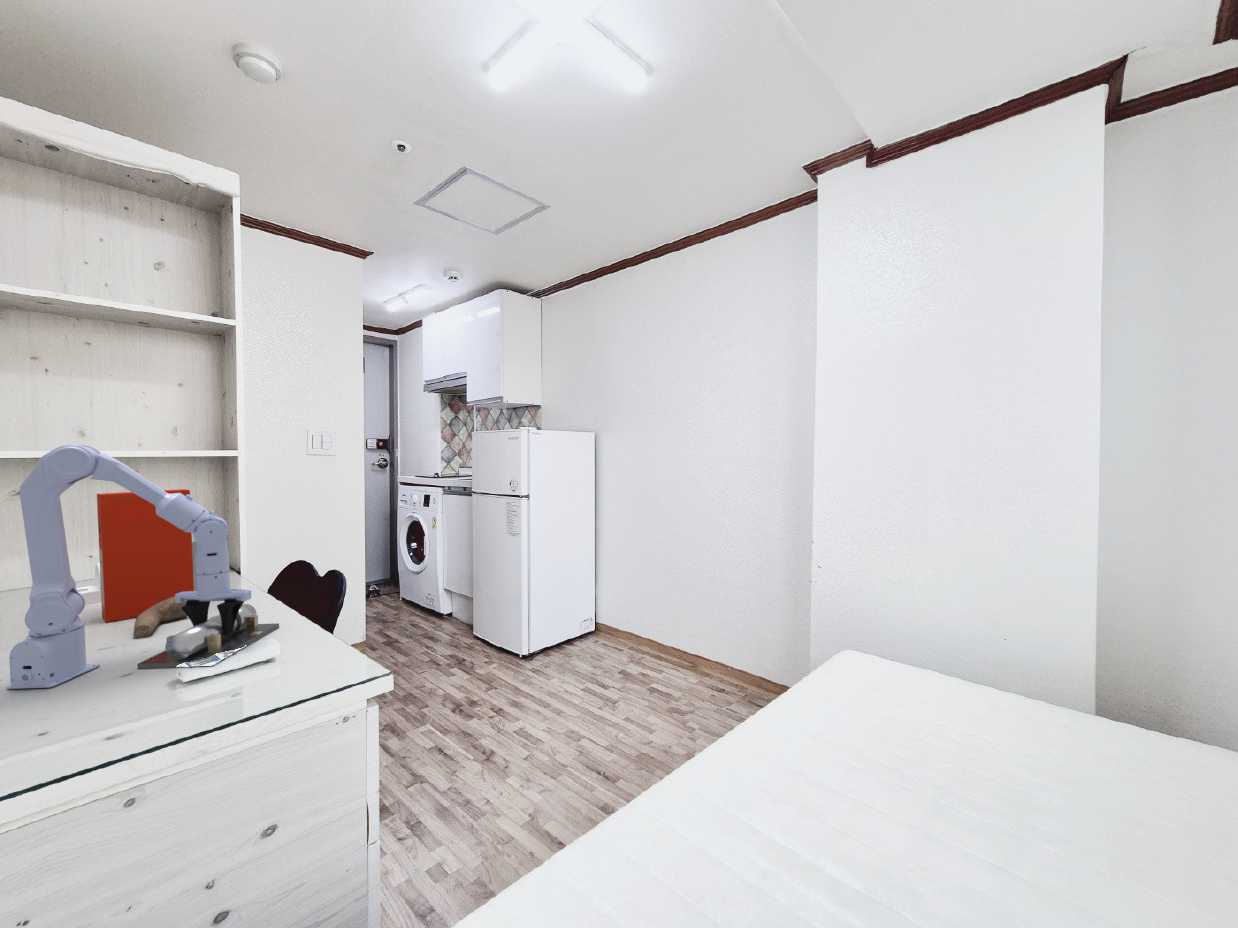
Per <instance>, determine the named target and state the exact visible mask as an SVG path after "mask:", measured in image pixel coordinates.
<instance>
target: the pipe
mask: <svg viewBox="0 0 1238 928" xmlns="http://www.w3.org/2000/svg"><path fill="white" fill-rule="evenodd" d="M186 604H187V603H186V602H182V603H175V596H174V597H171V598H169V599H166V600H164V601H162V602H160V603H158V604H156V605H154V606H152V607H150V608H149V609H147V610H146V611H144V612H143V613H141V614H140V615H139V616H138V617H135V621H134V627H133V636H134V637H135V638H137V639H142V638H147V637H150V636H151V634H152V633H153V632H154V630H155V629H156V628H157V626H158V625H161V624H165V623H170V622H173V621H176V620H177V621H178V620H180V619H183V618H184V619H186V618H188V616H187V615H186V613H185V612H184V611H183V610H182V606H184V605H186Z"/></svg>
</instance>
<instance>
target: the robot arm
mask: <svg viewBox="0 0 1238 928" xmlns="http://www.w3.org/2000/svg"><path fill="white" fill-rule="evenodd" d="M89 477H90V479H91V480H97V481H104V482H105V481H106V482H113V483H115V484H117V485H118V486H120V487H122V488H124V489H126V490H127V491H128V492H133V493H134V494H136V495H138V496H140V497H141V498H143V499H145V500H147V501H148V502H150V503H152V504H154V505H155V507H156V514H157V515H158V516H160V517H161V518H163V519H165V520H166V521H168V522H170V523H171V524H173V525H175V526H176V527H178V528H180V529H181V530H183V531H184V532H191V533H192V538H193V540H196V541H197V542H196V546H197V551H196V553H195V562H196V591H188V592H180V593H177V594H175V603H182V602H186V603H187V604H186V605H184V606H182V610H183V611H184V612H185V613H186V615H187V618H188V619H189V620H190V622H191V624H192V627H193V626H196V625H198V624H200V623H202V622H204V621H207V620H209V619H208V616H209V609H210V605H211V602H221V603H219V604H216V608H217V610H218V613H219V615H220V616H221V621H222V630H223V635H228V634H230V633H232V632H233V627H234V623H235V620H236V617H237V614H238V612H239V610H240V608H241V606H242V605H243V604H245V602H247V601H249V600H251V599H252V590H251V589H237V588H231V582H230V580H231V579H230V578H231V577H230V575H231V574H230V552H229V548H228V545H229V542H228V540H227V538H228V536H229V533H230V530H229V526H228V523H227V521H226V520H225V519H223V517H222V516H221V515H219V514H215V511H214V510H212V509H209V510H208V509H206V508H205V507H203V506H202V505H200V504H198V503H197V502H195V501H193V499H194V497H193V496H192V495H191V494H190V495H189V494H187V495H186V496H184V495H183V494H181V493H172V494H169V493H167V492H165V491H164V490H165V489H162V488H161V487H159V486H158V485H157V484H155V483H153V482H152V481H151V480H149V479H147V478H146V477H145V476H143V475H142V474H140V473H138V472H137V471H136V470H134V469H132V468H131V467H129V465H126V464H125V463H123V462H121V461H119V460H118V459H116V458H114V457H112V456H110V455H108V454H106V453H101V452H100V451H99V450H98V449H96V448H94V447H93V446H89V445H82V444H81V445H80V444H78V445H76V444H66V445H65V444H64V445H60V446H58V447H56V448H54V449H52V450H50V451H48V452H47V453H45V454H44V455H42V456H41V457H39V459H38V461H37V464H36V465H35V466H34V467H33V469H32V470H31V472H30V473H28V476H27V477H26V478H25V480H23V482H22V483H21V485H20V486H19V500H20V505H21V511H22V513H21V514H22V519H23V526H24V527H23V528H24V532H25V538H26V546H27V555H28V560H29V561H28V562H29V567H30V574H31V581H32V584H31V589H30V593H29V608H28V609H27V611H26V613H25V615H24V624H25V626H26V627H27V629H29V630H28V632H27V633H28V635H27V637H26V638H25V639H24V640H22V641H20V642H18V643H16V644H15V645H14V646H13V647H12V648H11V650H10V652H9V659H8V661H9V675H10V677H9V680H10V684H8V685H6V686H5V689H6V690H15V689H16V690H18V689H42V688H45V689H46V688H47V689H48V688H54V687H55V686H57V685H60V684H63V683H64V682H66V681H69V680H71V679H74V678H76V677H78V676H81V675H83V674H84V673H86V672H89V671H91V670H93V669H96V668H99V667H100V666H101V663H99V662H98V663H97V662H96V663H87V652H86V651H87V650H86V629H85V628H86V627H85V621H84V620H82V619H81V618H80V617H79V615H80V614H81V613H82V612H83V611H84V609H85V606H86V605H85V599H84V597H83V596H82V595H81V594H80V593H79V592H78V591H77V589H76V588H77V585H76V581H75V579H74V577H73V576H72V572H71V567H70V566H71V565H70V559H69V552H68V544H67V537H66V531H65V524H64V517H63V515H64V514H63V509H62V503H61V495H62V494H63V493H64V492H66V491H67V490H68V489H70V488H71V487H72V486H73V485H75V483H77V482H79V481H81V480H84V479H86V478H89Z"/></svg>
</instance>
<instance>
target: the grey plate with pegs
mask: <svg viewBox="0 0 1238 928" xmlns="http://www.w3.org/2000/svg"><path fill="white" fill-rule="evenodd" d="M213 617H215V616H212V617H211V616H210V617H209V619H211V618H213ZM279 628H280V622H279V623H259V616H258V614H257V615H250V616H247V617H246V626H245V627H243V628H241V629H239V630H237V631H236V632H234V633H232V634H230V635H228V636H226V637H224V638H222V639H221V634H211V635H209V636H207V639H208V646H207V647H205V648H203V649H201V650H199V651H197V652H195V653H193V654H192V655H190V656H188V657H186V658H184V659H174V658H172V657H170V656H169V655H168V654H167V652H166V650H164V651H162V652H159V653H157V654H155V655H153V656H151V657H149V658H147V659H145V660H143V661H140V662H139V663H137V669H138V670H145V669H177V668H176V666H177V665H179V664H182V663H184V662H191V661H194V660H199V659H201V658H207V657H209V656H212V655H214V654H216V653H220V652H225V651H229V650H235V649H238V648H242V647H244V646H245V645H248V644H250V645H252V644H254V643H255V642H257V641H258V640H260V639H262V638H264V637H265V635H266V636H267V635H269V634H271V633H272V632H274V631H276V630H277V629H279ZM174 635H175V634H174ZM174 635H170V636H167V637H166V641H167V640H168V639H169V638H170V637H172V636H174ZM253 642H254V643H253ZM251 643H252V644H251ZM248 646H249V645H248Z"/></svg>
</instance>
